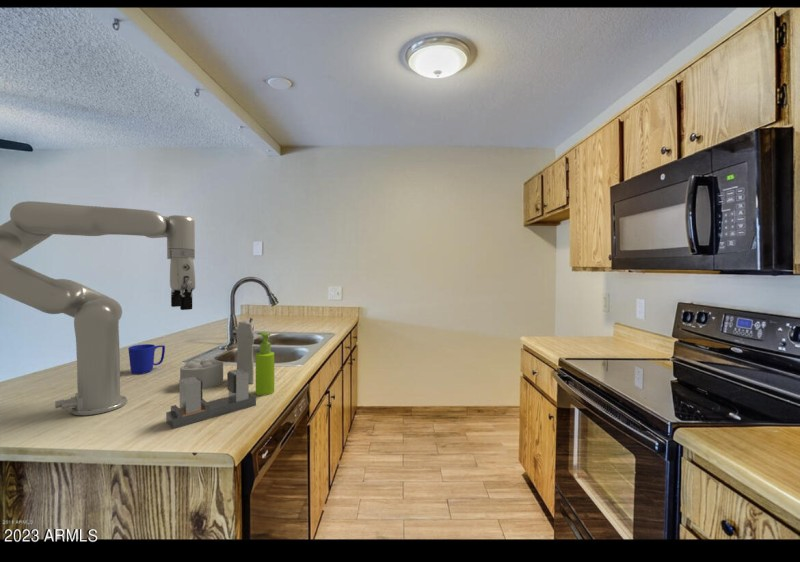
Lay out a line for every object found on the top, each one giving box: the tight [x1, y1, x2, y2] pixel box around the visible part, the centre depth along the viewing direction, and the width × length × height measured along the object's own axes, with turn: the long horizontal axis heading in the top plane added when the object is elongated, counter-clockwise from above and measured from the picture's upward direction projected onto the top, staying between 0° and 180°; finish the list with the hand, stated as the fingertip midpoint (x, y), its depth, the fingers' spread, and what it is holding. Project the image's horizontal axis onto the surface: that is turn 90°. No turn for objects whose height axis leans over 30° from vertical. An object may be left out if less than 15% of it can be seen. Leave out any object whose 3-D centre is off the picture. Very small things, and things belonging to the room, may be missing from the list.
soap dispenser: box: [255, 331, 275, 396], centre depth 118 cm, size 6×7×20 cm
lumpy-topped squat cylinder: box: [179, 357, 224, 390], centre depth 124 cm, size 10×13×9 cm
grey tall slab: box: [235, 320, 255, 385], centre depth 128 cm, size 11×4×22 cm, turn 55°
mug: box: [127, 343, 166, 375], centre depth 137 cm, size 8×12×10 cm
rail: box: [165, 368, 257, 430], centre depth 101 cm, size 22×6×10 cm, turn 137°
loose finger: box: [179, 377, 203, 414], centre depth 97 cm, size 4×6×8 cm
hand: (181, 307), depth 113 cm, fingers open, 9 cm apart
